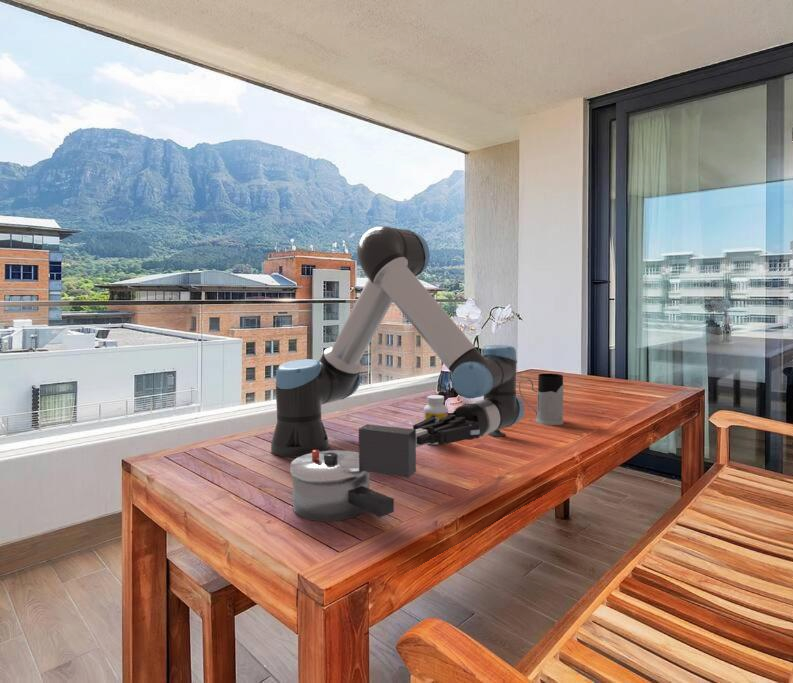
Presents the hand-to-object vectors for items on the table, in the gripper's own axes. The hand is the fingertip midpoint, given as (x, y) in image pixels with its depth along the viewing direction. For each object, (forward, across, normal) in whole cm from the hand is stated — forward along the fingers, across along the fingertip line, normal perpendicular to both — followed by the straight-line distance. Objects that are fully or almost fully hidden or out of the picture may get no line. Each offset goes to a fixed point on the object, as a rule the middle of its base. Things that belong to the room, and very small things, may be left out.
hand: (401, 443), depth 96 cm
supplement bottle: (-39, +24, -14) cm, 48 cm away
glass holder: (-80, +15, -14) cm, 82 cm away
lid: (+6, +8, -6) cm, 11 cm away
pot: (+7, +10, -13) cm, 18 cm away
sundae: (-57, +16, -14) cm, 61 cm away
